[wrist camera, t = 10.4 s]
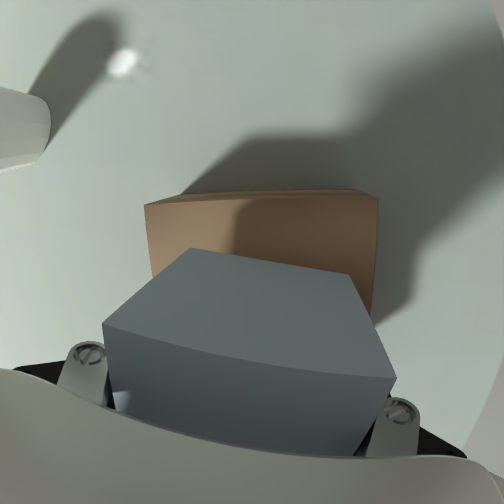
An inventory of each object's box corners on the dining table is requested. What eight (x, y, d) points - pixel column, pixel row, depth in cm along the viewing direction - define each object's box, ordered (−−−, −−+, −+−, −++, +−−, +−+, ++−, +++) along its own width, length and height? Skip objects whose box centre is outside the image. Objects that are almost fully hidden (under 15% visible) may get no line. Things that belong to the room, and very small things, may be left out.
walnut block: (181, 194, 17) (143, 204, 13) (353, 189, 16) (378, 198, 11) (198, 340, 20) (174, 385, 15) (344, 342, 19) (356, 391, 14)
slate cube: (190, 247, 11) (102, 323, 5) (348, 274, 11) (396, 378, 5) (183, 370, 13) (132, 470, 7) (311, 394, 12) (314, 506, 7)
